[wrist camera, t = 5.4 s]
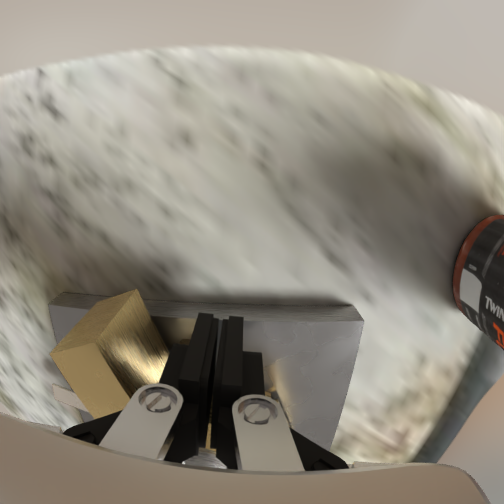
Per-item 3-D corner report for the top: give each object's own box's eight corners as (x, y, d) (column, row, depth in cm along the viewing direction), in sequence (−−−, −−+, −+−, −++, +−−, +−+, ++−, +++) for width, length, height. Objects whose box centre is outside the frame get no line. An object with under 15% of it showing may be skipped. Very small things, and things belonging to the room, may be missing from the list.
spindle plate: (310, 478, 18) (320, 536, 13) (98, 460, 17) (77, 511, 12) (353, 305, 14) (398, 373, 9) (41, 289, 14) (-20, 337, 9)
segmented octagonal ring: (306, 465, 15) (316, 520, 11) (167, 486, 15) (157, 534, 12) (221, 260, 11) (208, 311, 7) (43, 320, 12) (-5, 365, 8)
